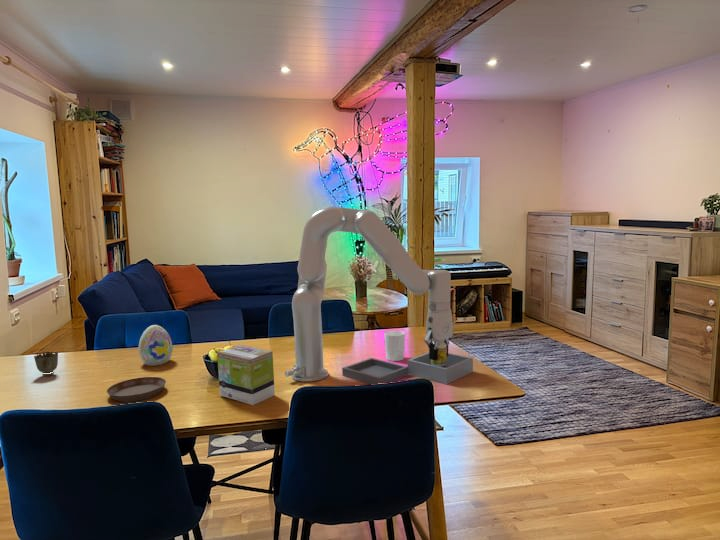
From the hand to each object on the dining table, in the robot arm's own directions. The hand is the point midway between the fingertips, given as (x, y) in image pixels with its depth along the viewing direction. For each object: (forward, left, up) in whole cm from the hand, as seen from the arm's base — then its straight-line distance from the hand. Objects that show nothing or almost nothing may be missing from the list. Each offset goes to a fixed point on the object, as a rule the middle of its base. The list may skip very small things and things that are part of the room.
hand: (438, 357), depth 175 cm
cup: (-92, +109, -6) cm, 142 cm away
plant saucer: (-78, +64, -6) cm, 101 cm away
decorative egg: (-59, +92, -6) cm, 109 cm away
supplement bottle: (0, 0, -3) cm, 3 cm away
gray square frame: (0, 0, -6) cm, 6 cm away
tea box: (-56, +34, -6) cm, 65 cm away
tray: (-16, +16, -6) cm, 23 cm away
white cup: (+3, +23, -6) cm, 24 cm away
